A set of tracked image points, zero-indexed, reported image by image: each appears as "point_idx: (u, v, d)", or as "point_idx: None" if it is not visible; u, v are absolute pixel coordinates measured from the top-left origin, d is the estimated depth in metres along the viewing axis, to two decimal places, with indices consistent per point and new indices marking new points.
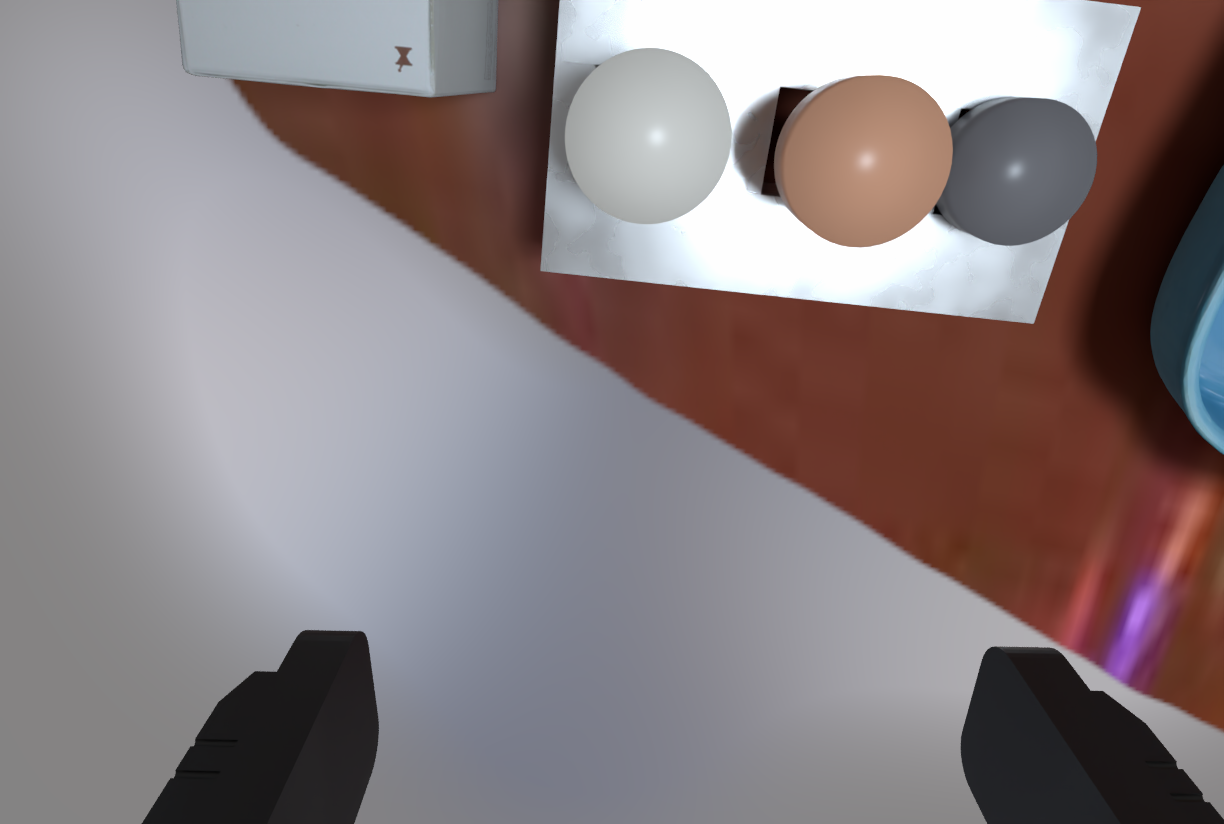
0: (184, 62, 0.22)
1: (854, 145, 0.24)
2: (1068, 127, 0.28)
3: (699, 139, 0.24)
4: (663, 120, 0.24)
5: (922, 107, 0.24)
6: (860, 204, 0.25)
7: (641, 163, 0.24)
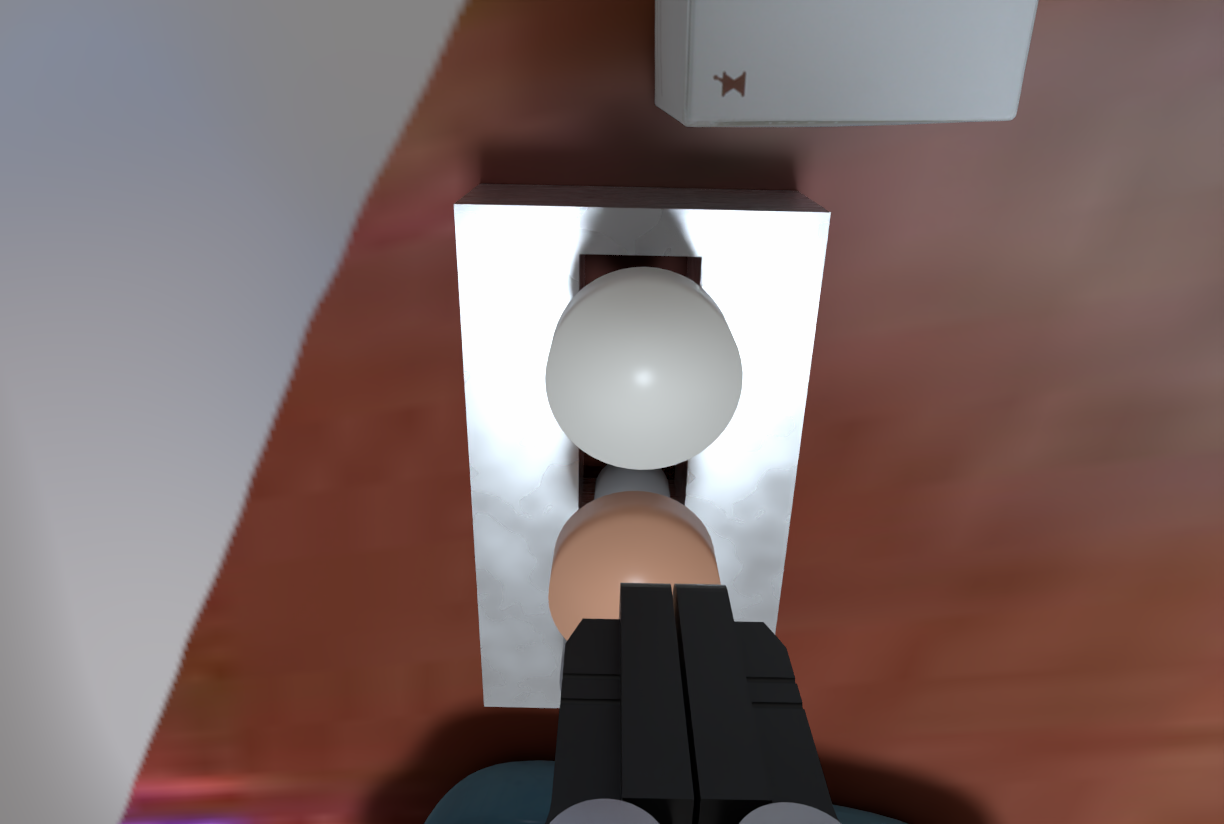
0: None
1: None
2: None
3: (648, 436, 0.21)
4: (665, 396, 0.20)
5: None
6: (594, 599, 0.23)
7: (616, 377, 0.20)
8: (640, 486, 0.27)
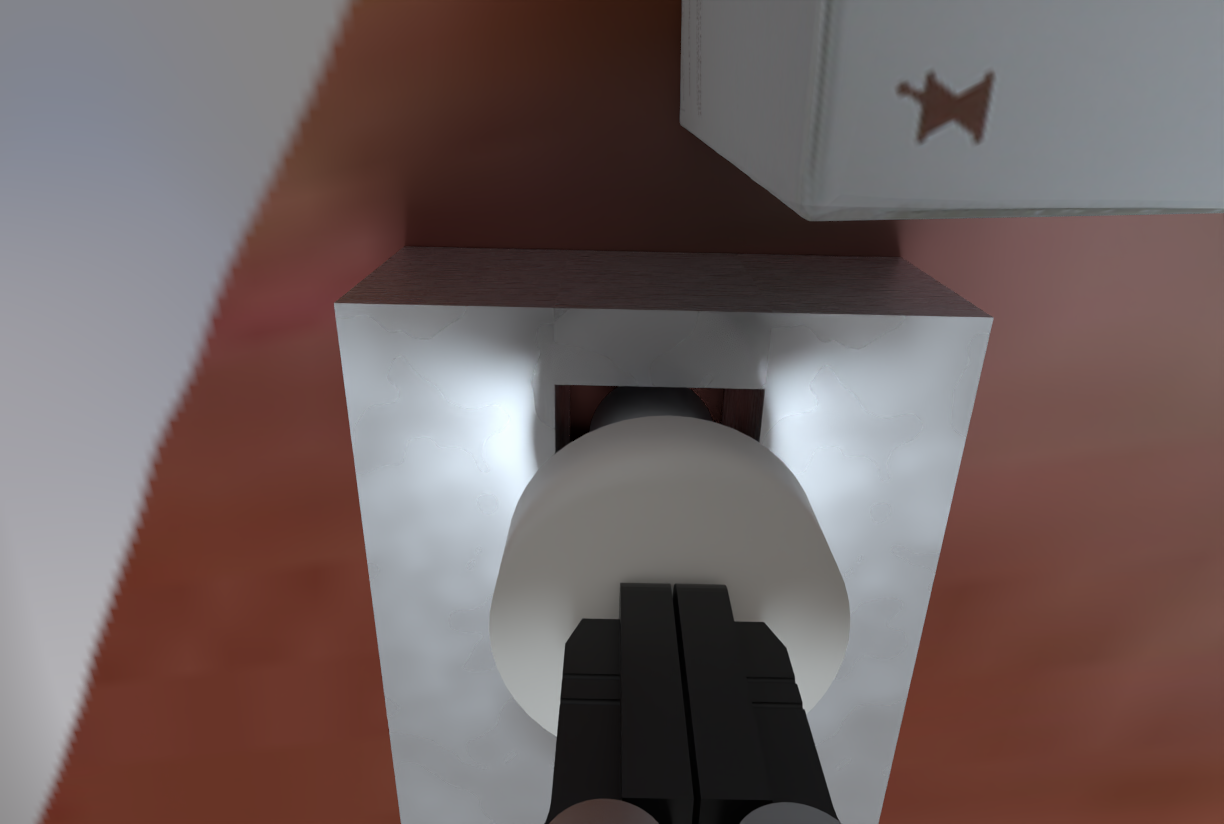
0: None
1: None
2: None
3: None
4: None
5: None
6: None
7: None
8: None
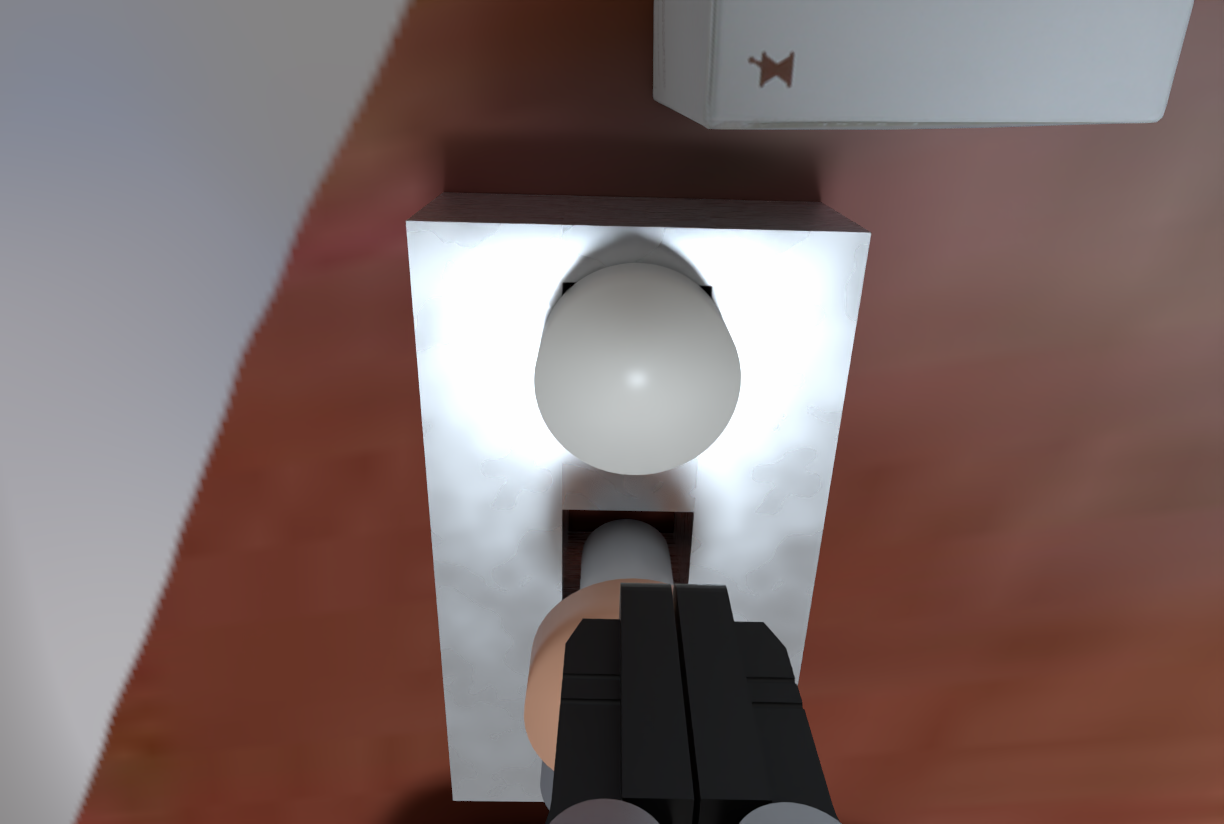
0: None
1: None
2: None
3: (642, 440, 0.20)
4: (660, 398, 0.20)
5: None
6: None
7: (608, 378, 0.19)
8: (637, 561, 0.22)
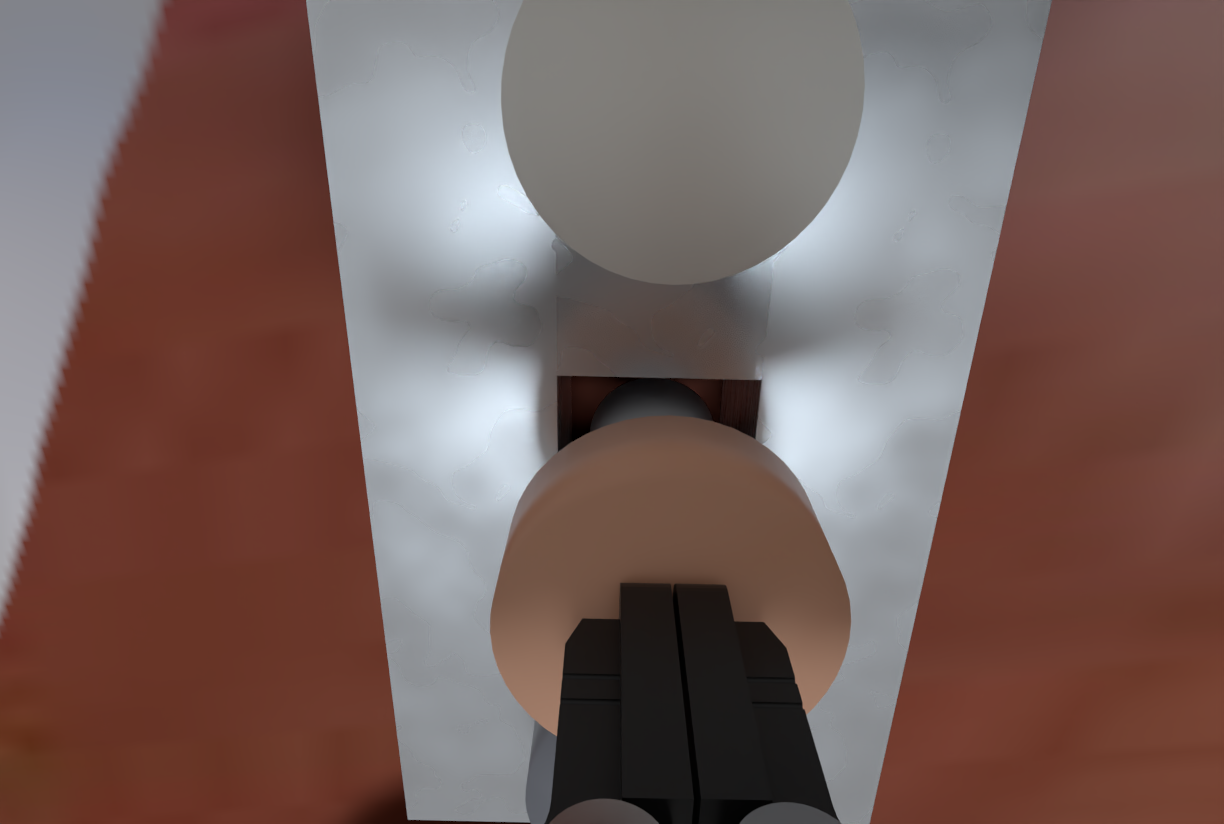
0: None
1: None
2: None
3: (687, 219, 0.12)
4: (721, 136, 0.11)
5: None
6: None
7: (631, 97, 0.11)
8: None
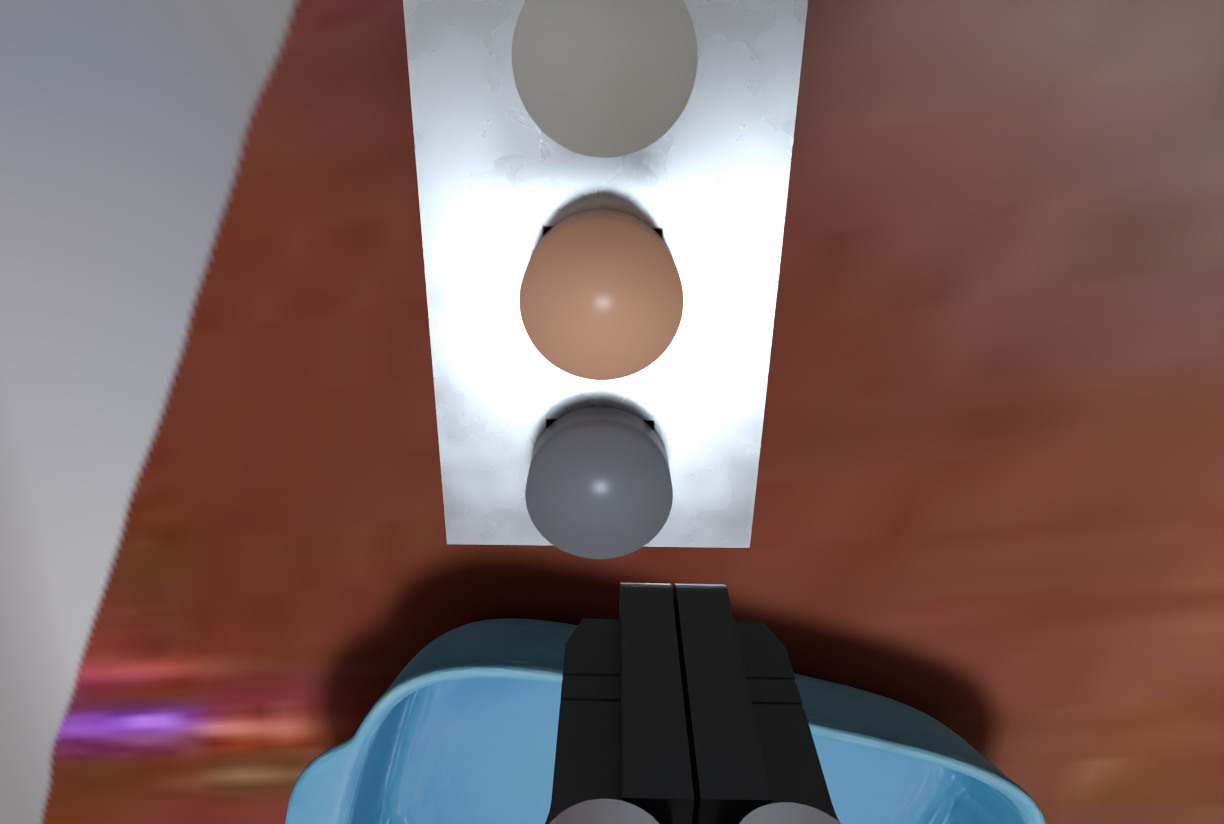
0: None
1: (618, 285, 0.24)
2: (647, 524, 0.28)
3: (610, 121, 0.22)
4: (625, 76, 0.22)
5: (657, 341, 0.25)
6: (563, 303, 0.24)
7: (578, 55, 0.21)
8: None
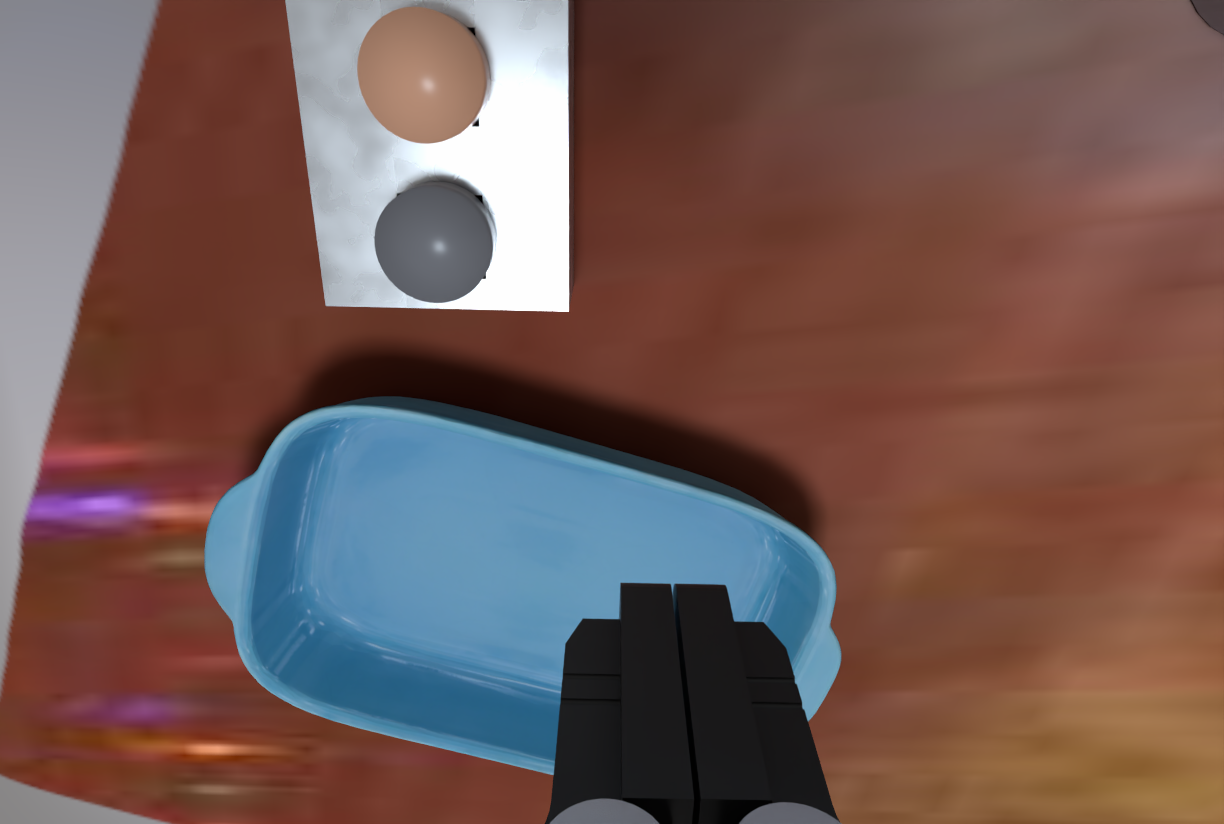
0: None
1: (432, 62, 0.32)
2: (472, 271, 0.35)
3: None
4: None
5: (466, 110, 0.32)
6: (391, 77, 0.32)
7: None
8: None
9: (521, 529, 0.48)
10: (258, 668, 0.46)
